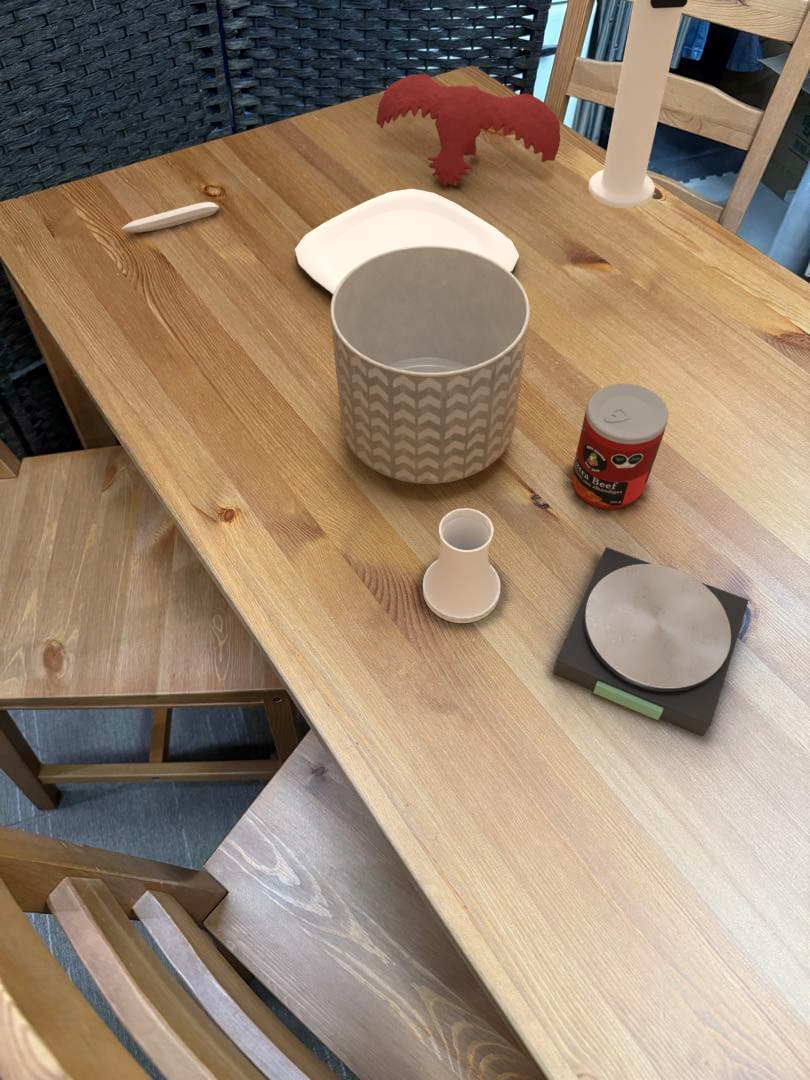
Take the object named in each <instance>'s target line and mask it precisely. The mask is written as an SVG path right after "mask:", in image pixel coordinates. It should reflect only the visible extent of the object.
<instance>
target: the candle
mask: <svg viewBox="0 0 810 1080" xmlns="http://www.w3.org/2000/svg"><path fill="white" fill-rule="evenodd" d="M683 9H684V7H676V8H652V6H651V4H650V0H633V2H632V8H631V14H630V19H629V26H628V29H627V37H626V41H625V48H624V54H623V58H622V64H621V69H620V75H619V80H618V81H619V82H618V87H617V93H616V98H615V103H614V108H613V109H614V110H613V113H612V121H611V124H610V125H611V126H610V132H609V137H608V143H607V148H606V152H605V153H606V155H605V160H604V165H603V169H601V170H598V171H596V172H595V173H594V174H593V175H592V176H591V177H590V179H589V182H588V191H589V194H590V195H591V197H592V198H593V199H594V200H595V201H597V202H598V203H600V204H602V205H604V206H607V207H610V208H614V209H633V208H638V207H642V206H644V205H646V204H647V203H649V202H650V201H651V200H652V199H653V197H654V194H655V190H656V187H655V183H654V180H653V179H652V178H651V177H650V176H649V175H648V174H647V171H648V165H649V162H650V158H651V153H652V148H653V144H654V140H655V139H654V138H655V135H656V129H657V125H658V121H659V117H660V113H661V108H662V103H663V99H664V94H665V90H666V85H667V80H668V77H669V72H670V68H671V63H672V58H673V54H674V49H675V45H676V41H677V36H678V31H679V27H680V22H681V18H682V13H683Z"/></svg>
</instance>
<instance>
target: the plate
mask: <svg viewBox="0 0 810 1080" xmlns="http://www.w3.org/2000/svg"><path fill="white" fill-rule="evenodd" d="M428 245H433V246H447V247H454V248H460V249H464V250H468V251H471V252H475V253H478V254H480V255H483V256H485V257H487V258H489V259H491V260H493V261H495V262H497V263H499V264H500V265H502V266H503V267H504V268H506V269H507V270H508V271H509V272H511V273H513V271H514V268H515V267H516V265H517V262H518V260H519V258H520V254H519V252H518V250H517V248H516V246H515V245H514V243H513V241H512V240H511V239H510V238H509V237H507V236H506V235H505V234H504V233H502V232H501V231H499V229H497V228H496V227H494V226H493V225H492V224H491V223H488V222H486V221H485V220H484V219H482V218H481V217H479V216H477V215H475V214H474V213H473V212H471V211H469V210H467V209H466V208H464V207H463V206H461V205H460V204H457V203H456V202H454V201H451V200H450V199H447V198H446V197H443V196H441V195H439V194H437V193H435V192H431V191H426V190H421V189H417V188H407V189H401V190H400V189H399V190H394V191H388V192H386V193H383V194H381V195H378V196H376V197H373V198H371V199H370V198H369V199H368V200H366V201H364V202H362V203H359V204H358V205H356V206H354V207H352V208H350V209H348V210H346V211H343V212H342V213H340V214H337V215H336V216H334V217H333V218H331V219H329V220H327V221H325V222H323V223H322V224H320V225H319V226H317V227H315V228H314V229H312V230H311V231H309V232H307V233H305V234H304V236H303V237H302V238H301V240H300V241H299V243H298V244H297V246H295V248H294V252H295V255H296V259H297V263H298V264H297V265H298V266H299V267H300V268H301V269H302V270H303V271H304V272H305V273H306V274H307V275H308V276H309V277H310V278H311V279H312V280H313V281H314V282H316V283H317V284H318V285H319V286H321V287H322V288H323V289H324V290H325V291H327V292H328V293H329V294H331V295H332V296H333V294H334V292H335V290H336V288H337V286H338V285H339V283H340V282H341V280H342V279H343V278H344V277H345V276H346V275H347V274H348V273H349V272H350V271H351V270H352V269H354V268H355V267H357V266H358V265H359V264H361V263H363V262H364V261H366V260H368V259H370V258H372V257H374V256H377V255H379V254H382V253H385V252H388V251H391V250H395V249H400V248H405V247H412V246H428Z"/></svg>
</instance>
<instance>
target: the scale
mask: <svg viewBox="0 0 810 1080" xmlns="http://www.w3.org/2000/svg"><path fill="white" fill-rule="evenodd" d="M748 604H749V599H747V598H744V597H742V596H739V595H737V594H734V593H731V592H729V591H726V590H723V589H720V588H718V587H716V586H712V585H710V584H707V583H705V582H701V581H700V580H698V579H697V578H696V577H693V576H692V575H690V574H688V573H687V572H685V571H682V570H679V569H677V568H675V567H674V568H673V567H671V566H666V565H663V564H662V565H661V564H655V563H654V564H653V563H650V562H647V561H645V560H642V559H639V558H637V557H634V556H632V555H629V554H627V553H623V552H621V551H619V550H616V549H613V548H611V547H606V546H605V548H604V550H603V553H602V554H601V557H600V559H599V562H598V564H597V566H596V568H595V570H594V573H593V575H592V577H591V579H590V582H589V584H588V586H587V589H586V591H585V593H584V596H583V598H582V600H581V602H580V605H579V607H578V610H577V612H576V613H575V616H574V619H573V621H572V623H571V626H570V628H569V630H568V633H567V635H566V637H565V639H564V641H563V644H562V647H561V648H560V651H559V653H558V654H557V657H556V660H555V663H554V667H553V669H552V673H553V674H555V675H557V676H559V677H562V678H564V679H566V680H569V681H570V682H574V683H576V684H578V685H580V686H583V687H585V688H588V689H590V690H591V691H593V694H595V695H597V696H599V697H601V698H604V699H606V700H609V701H611V702H614V703H616V704H618V705H621V706H623V707H625V708H627V709H630V710H633V711H634V712H637V713H639V714H642V715H644V716H646V717H649V718H651V719H654V720H657V721H659V720H660V719H662V720H664V721H666V722H669V723H671V724H674V725H676V726H678V727H680V728H683V729H685V730H687V731H690V732H692V733H695V734H697V735H700V736H703V737H704V735H705V734H706V732H707V731H708V730H709V728H710V727H711V725H712V722H713V719H714V716H715V712H716V708H717V706H718V702H719V699H720V696H721V693H722V690H723V686H724V683H725V679H726V676H727V673H728V670H729V667H730V663H731V660H732V656H733V653H734V649H735V646H736V643H737V640H738V636H739V633H740V630H741V627H742V624H743V620H744V617H745V614H746V610H747V607H748Z"/></svg>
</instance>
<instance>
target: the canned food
mask: <svg viewBox="0 0 810 1080" xmlns="http://www.w3.org/2000/svg"><path fill="white" fill-rule="evenodd" d="M668 420H669V409H668V406H667V403H666V402H665V401H664V399H663V398H662V397H661V396H659V395H658V393H656V392H655V391H653V390H652V389H649V388H647V387H645V386H642V385H639V384H634V383H614V384H610V385H606V386H604V387H602V388H600V389H598V390H597V391H595V392H594V394H593V395H591V397H590V399H589V401H588V404H587V405H586V409H585V412H584V416H583V421H582V424H581V425H582V426H581V430H580V435H579V439H578V444H577V449H576V453H575V458H574V462H573V466H572V472H571V480H572V485H573V489H574V490H575V492H576V494H577V495H578V496H579V497H580V499H581V500H583V501H585V502H586V503H588V504H590V505H592V506H594V507H597V508H601V509H613V510H615V509H619V508H624V507H627V506H629V505H631V504H633V503H634V502H636V500H637V499H638V498H639V497H640V496H641V495H642V494H643V493H644V491H645V489H646V486H647V483H648V480H649V477H650V475H651V473H652V469H653V466H654V463H655V461H656V457H657V455H658V453H659V450H660V446H661V444H662V440H663V437H664V434H665V432H666V428H667V425H668Z"/></svg>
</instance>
